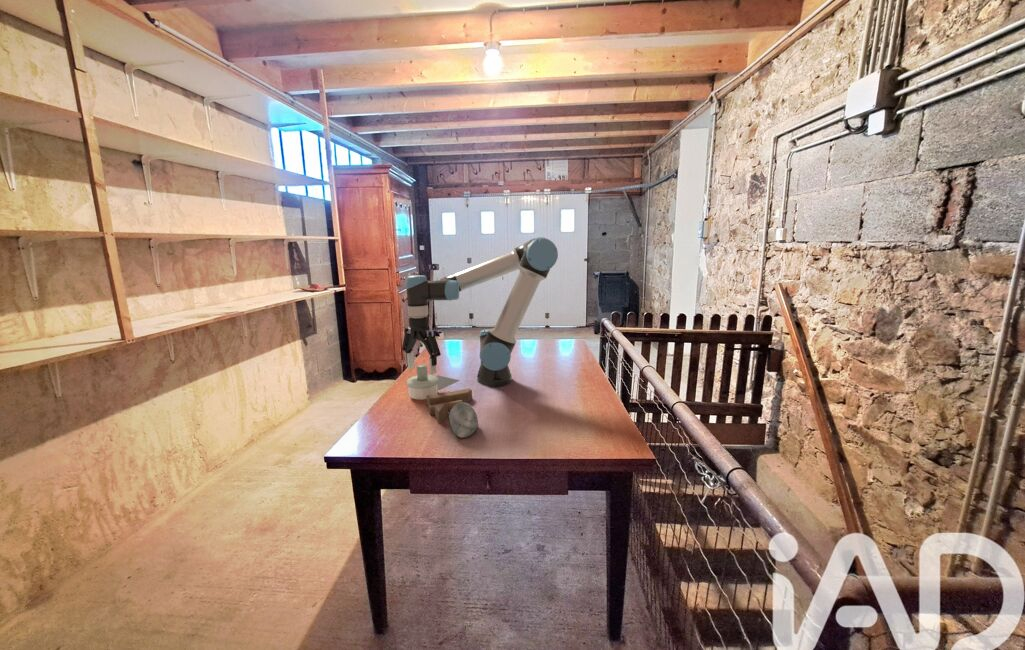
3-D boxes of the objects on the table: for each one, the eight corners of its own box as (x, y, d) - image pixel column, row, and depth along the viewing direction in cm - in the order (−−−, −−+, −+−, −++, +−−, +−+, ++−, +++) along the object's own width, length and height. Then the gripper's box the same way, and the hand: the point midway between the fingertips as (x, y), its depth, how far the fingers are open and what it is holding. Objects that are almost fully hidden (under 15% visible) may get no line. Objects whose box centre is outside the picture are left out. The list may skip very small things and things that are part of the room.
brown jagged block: (423, 392, 142) (469, 384, 150) (424, 407, 143) (470, 398, 151) (435, 409, 127) (485, 400, 135) (436, 425, 128) (486, 415, 136)
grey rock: (444, 412, 130) (457, 390, 126) (470, 421, 133) (483, 400, 129) (441, 440, 118) (455, 417, 114) (469, 450, 120) (484, 427, 117)
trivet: (459, 381, 169) (459, 380, 169) (439, 390, 158) (439, 389, 158) (437, 376, 176) (437, 375, 175) (416, 385, 165) (416, 384, 165)
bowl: (443, 393, 156) (442, 381, 155) (423, 402, 146) (422, 390, 145) (423, 388, 161) (422, 376, 160) (403, 396, 152) (402, 384, 151)
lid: (444, 381, 155) (443, 364, 153) (422, 390, 145) (421, 373, 143) (422, 376, 161) (421, 360, 160) (400, 384, 151) (399, 367, 150)
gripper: (448, 317, 144) (451, 373, 149) (404, 312, 157) (408, 363, 161) (434, 320, 138) (437, 378, 143) (389, 315, 150) (393, 368, 155)
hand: (421, 370), depth 152 cm, fingers open, 11 cm apart
